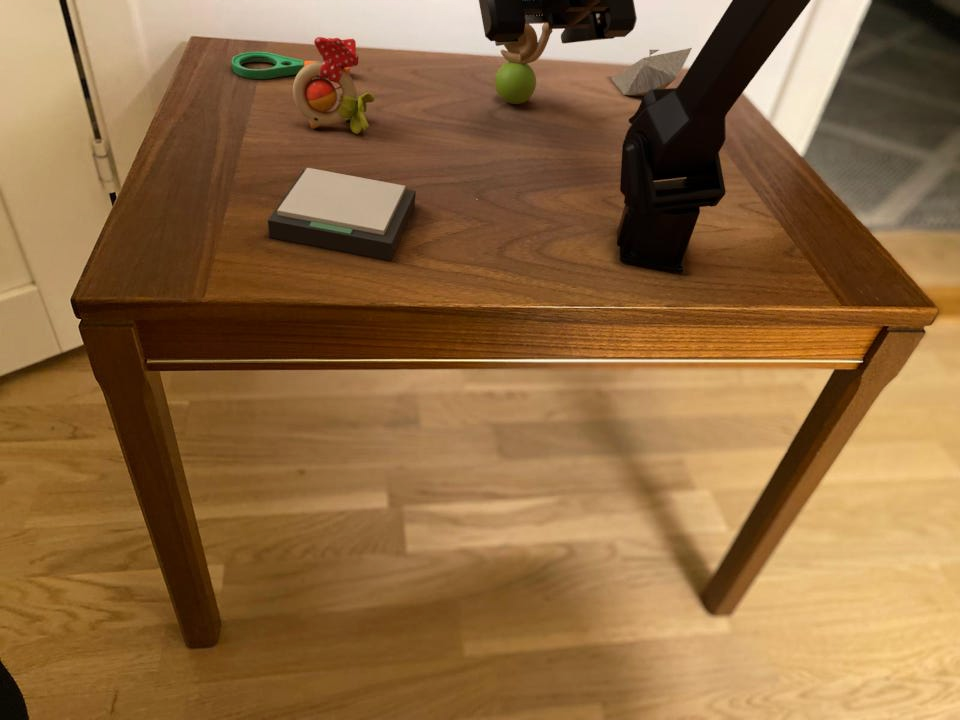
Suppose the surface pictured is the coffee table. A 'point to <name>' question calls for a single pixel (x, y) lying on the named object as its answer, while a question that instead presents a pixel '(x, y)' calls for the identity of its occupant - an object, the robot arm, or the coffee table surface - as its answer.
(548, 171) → the coffee table surface
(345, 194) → the scale
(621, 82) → the paper boat
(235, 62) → the magnifying glass
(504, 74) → the snail figurine
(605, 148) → the coffee table surface
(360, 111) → the bird rattle
